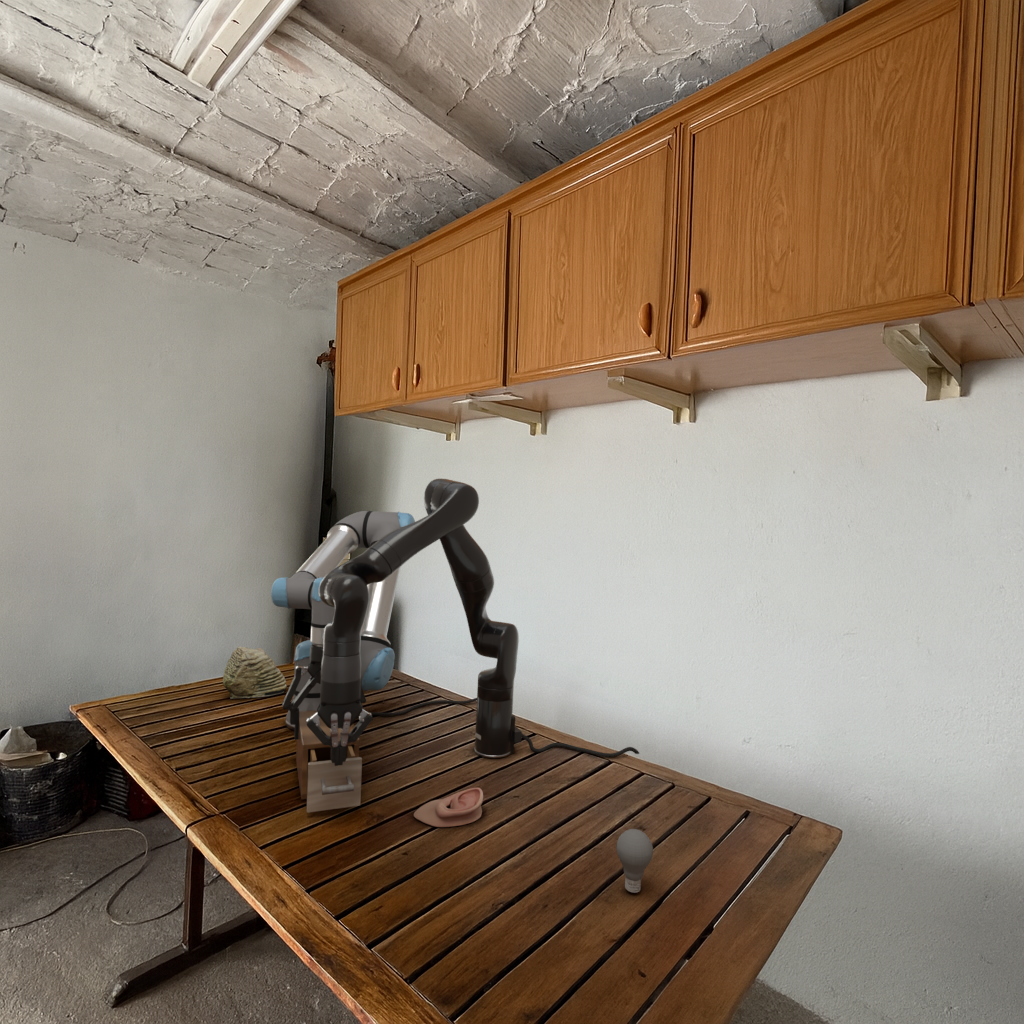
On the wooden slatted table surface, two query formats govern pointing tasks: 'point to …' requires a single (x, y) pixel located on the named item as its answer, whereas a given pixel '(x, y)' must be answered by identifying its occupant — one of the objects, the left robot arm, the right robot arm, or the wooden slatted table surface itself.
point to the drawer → (333, 780)
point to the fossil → (252, 674)
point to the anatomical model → (452, 809)
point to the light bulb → (634, 857)
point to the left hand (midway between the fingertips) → (323, 735)
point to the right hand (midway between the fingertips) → (338, 763)
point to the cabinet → (312, 747)
